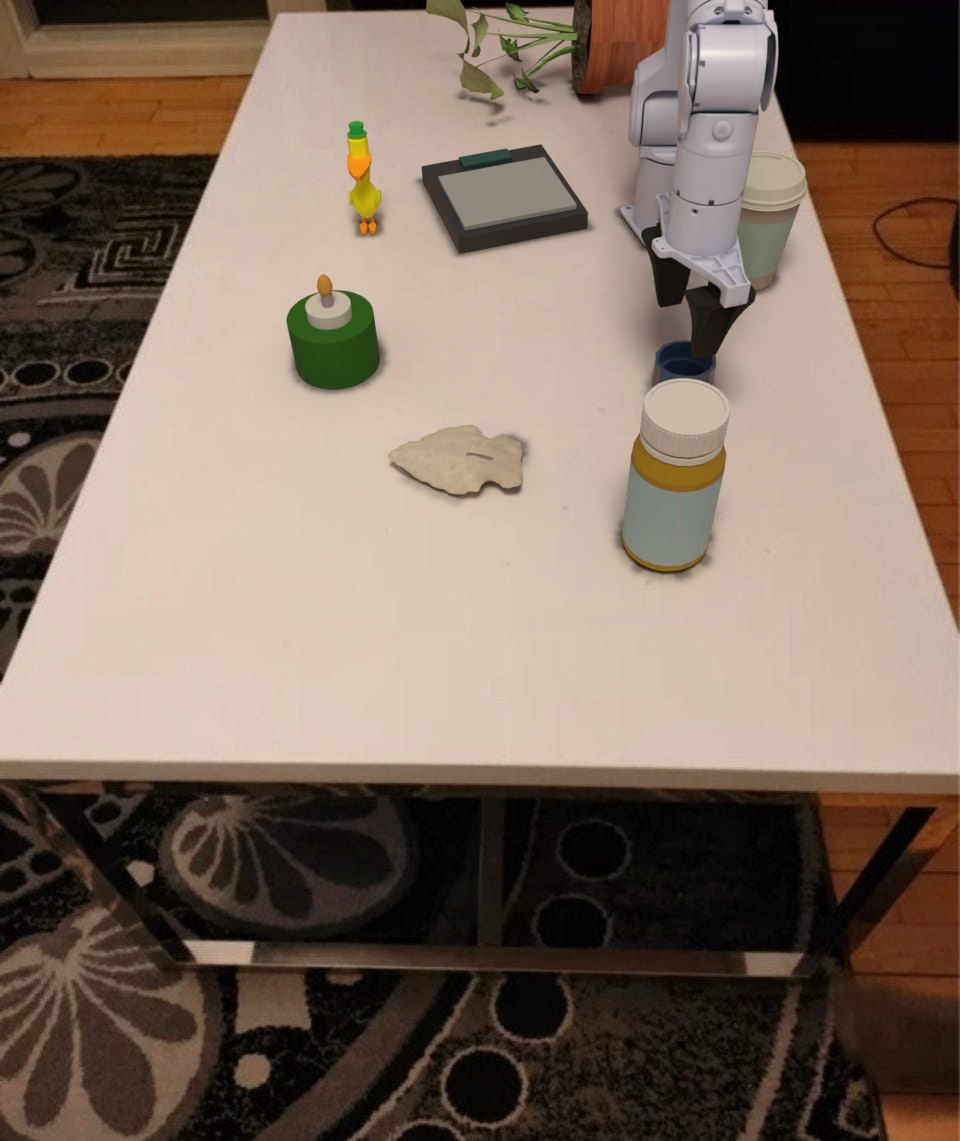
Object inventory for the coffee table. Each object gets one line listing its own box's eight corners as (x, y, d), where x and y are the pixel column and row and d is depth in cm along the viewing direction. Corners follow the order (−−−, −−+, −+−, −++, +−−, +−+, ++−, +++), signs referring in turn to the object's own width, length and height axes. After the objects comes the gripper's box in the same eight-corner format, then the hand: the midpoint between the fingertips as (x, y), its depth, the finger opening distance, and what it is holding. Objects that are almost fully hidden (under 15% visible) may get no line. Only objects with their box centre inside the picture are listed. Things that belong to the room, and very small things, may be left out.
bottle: (615, 516, 86) (629, 378, 74) (696, 509, 86) (723, 370, 74) (629, 579, 81) (647, 443, 70) (715, 572, 82) (747, 435, 70)
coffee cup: (791, 259, 109) (816, 153, 99) (779, 306, 104) (804, 198, 94) (712, 247, 111) (729, 141, 101) (696, 291, 106) (713, 185, 96)
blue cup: (694, 368, 98) (700, 334, 95) (720, 404, 94) (726, 371, 91) (641, 380, 97) (645, 346, 94) (665, 417, 93) (670, 384, 90)
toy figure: (382, 246, 113) (369, 142, 103) (350, 247, 113) (335, 144, 103) (385, 213, 117) (373, 111, 108) (354, 214, 117) (340, 112, 108)
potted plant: (659, 70, 141) (408, 64, 138) (682, -49, 129) (408, -57, 126) (680, 131, 132) (411, 127, 129) (707, 9, 120) (411, 2, 117)
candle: (314, 399, 97) (296, 312, 89) (284, 352, 101) (264, 265, 94) (393, 372, 99) (382, 284, 91) (360, 326, 104) (347, 240, 96)
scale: (541, 159, 124) (541, 139, 122) (587, 228, 114) (588, 207, 112) (422, 181, 121) (421, 161, 119) (459, 253, 111) (458, 232, 109)
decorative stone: (520, 509, 88) (524, 484, 86) (383, 497, 87) (384, 471, 85) (519, 446, 93) (523, 420, 91) (390, 434, 93) (391, 408, 90)
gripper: (626, 151, 84) (614, 291, 94) (700, 245, 75) (678, 388, 85) (705, 137, 85) (684, 276, 95) (787, 227, 76) (754, 370, 86)
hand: (686, 328), depth 90 cm, fingers open, 7 cm apart
